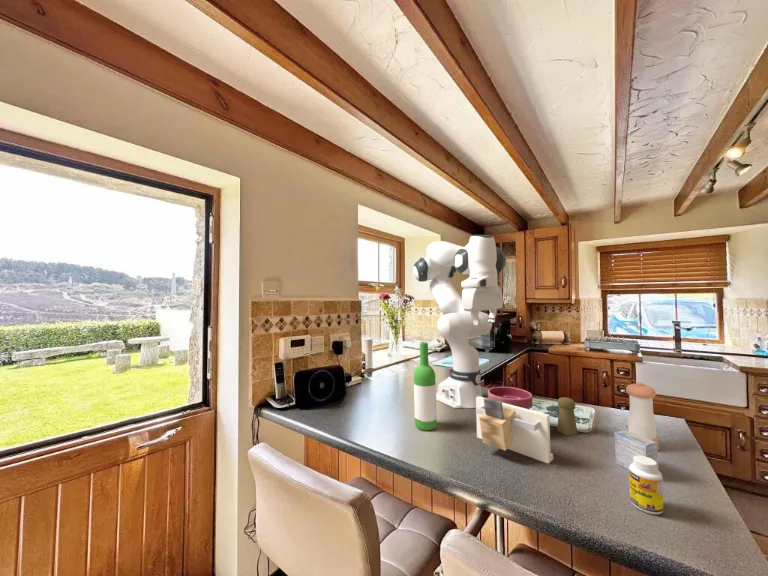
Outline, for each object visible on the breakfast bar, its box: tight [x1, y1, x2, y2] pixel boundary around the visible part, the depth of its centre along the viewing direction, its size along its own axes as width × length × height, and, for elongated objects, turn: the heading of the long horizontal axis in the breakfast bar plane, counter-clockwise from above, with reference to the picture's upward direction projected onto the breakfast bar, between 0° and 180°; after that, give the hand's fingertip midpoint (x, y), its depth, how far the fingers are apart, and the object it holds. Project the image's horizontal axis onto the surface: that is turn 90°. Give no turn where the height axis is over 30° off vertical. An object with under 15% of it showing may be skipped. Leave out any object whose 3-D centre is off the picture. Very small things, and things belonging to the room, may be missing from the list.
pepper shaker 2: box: [625, 381, 660, 451], centre depth 93 cm, size 7×7×19 cm
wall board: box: [475, 396, 554, 465], centre depth 92 cm, size 22×7×13 cm, turn 42°
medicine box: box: [614, 429, 660, 471], centre depth 81 cm, size 8×4×9 cm, turn 17°
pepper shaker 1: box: [556, 396, 579, 436], centre depth 104 cm, size 6×6×11 cm
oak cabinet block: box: [479, 397, 516, 452], centre depth 90 cm, size 7×8×13 cm
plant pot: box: [487, 386, 533, 410], centre depth 106 cm, size 14×14×13 cm
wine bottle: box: [413, 341, 438, 431], centre depth 110 cm, size 8×8×30 cm
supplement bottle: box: [628, 456, 664, 515], centre depth 67 cm, size 6×6×10 cm
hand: (484, 323), depth 102 cm, fingers open, 8 cm apart
